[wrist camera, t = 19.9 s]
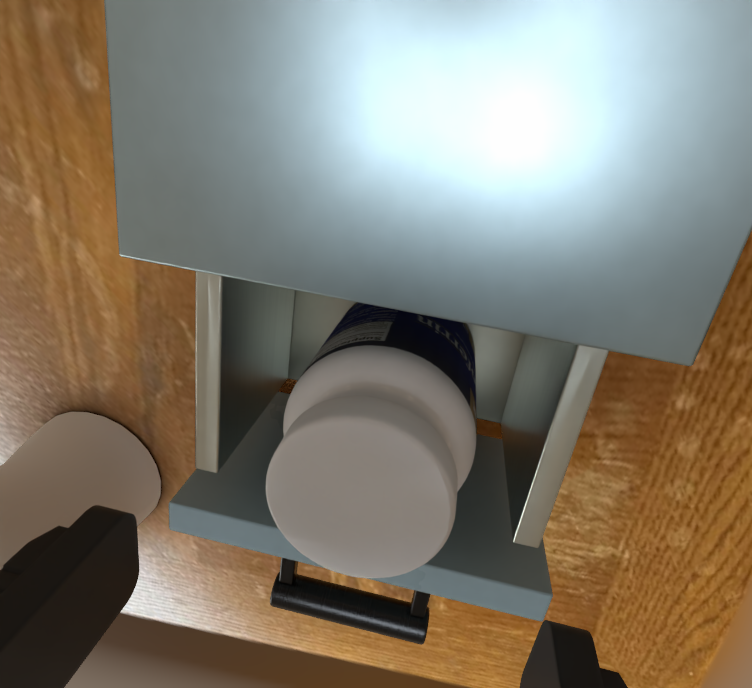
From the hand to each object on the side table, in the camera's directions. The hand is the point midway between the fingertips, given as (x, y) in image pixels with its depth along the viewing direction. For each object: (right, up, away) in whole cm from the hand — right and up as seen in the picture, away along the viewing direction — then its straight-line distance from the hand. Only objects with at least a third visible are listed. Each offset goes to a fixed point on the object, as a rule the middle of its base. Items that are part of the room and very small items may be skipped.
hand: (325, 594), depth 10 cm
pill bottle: (+2, +5, +12) cm, 13 cm away
